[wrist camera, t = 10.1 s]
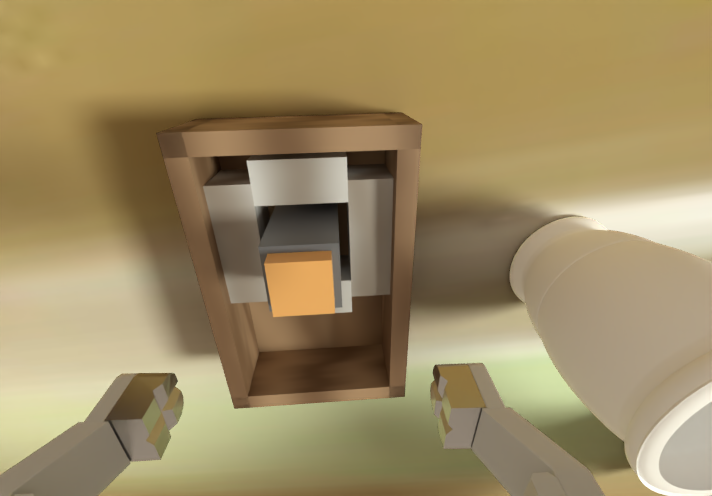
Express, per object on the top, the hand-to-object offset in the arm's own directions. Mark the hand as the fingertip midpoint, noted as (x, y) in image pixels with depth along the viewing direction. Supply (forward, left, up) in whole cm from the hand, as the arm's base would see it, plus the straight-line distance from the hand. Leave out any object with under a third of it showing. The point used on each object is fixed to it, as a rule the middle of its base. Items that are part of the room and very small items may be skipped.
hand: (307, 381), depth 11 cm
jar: (-19, +6, -16) cm, 25 cm away
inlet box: (+1, +4, -16) cm, 16 cm away
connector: (+1, +1, -15) cm, 14 cm away
